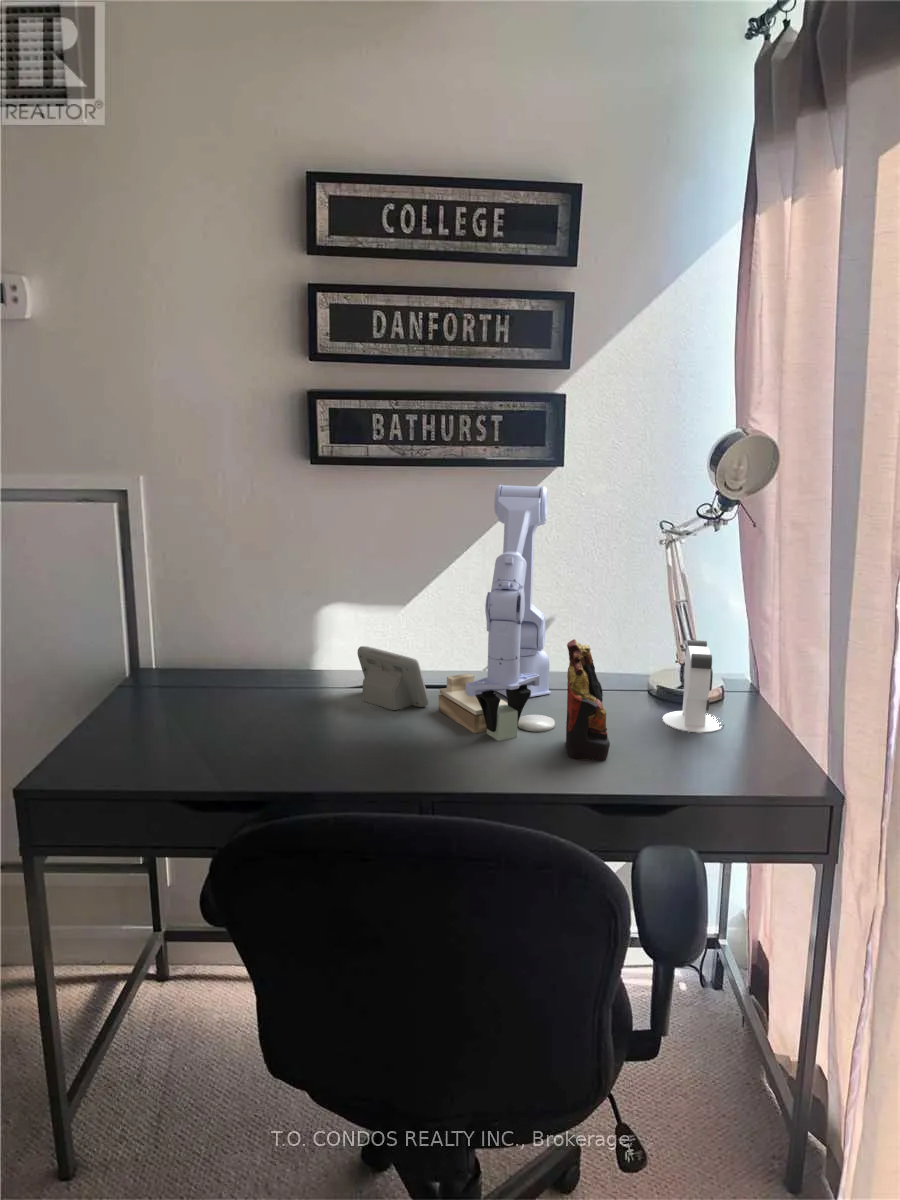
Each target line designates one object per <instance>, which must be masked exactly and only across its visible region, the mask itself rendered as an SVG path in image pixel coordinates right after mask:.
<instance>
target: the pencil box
mask: <svg viewBox="0 0 900 1200" xmlns="http://www.w3.org/2000/svg"><path fill="white" fill-rule="evenodd" d="M438 711H439V712H440V713H442V714H443V715H445V714H446V715H445V716H446V717H448V718H450V719H451V720H453V721H454V722H455V723H457V724H459V725H461V726H462V727H464V728H465V729H467V730H468V731H470V732H471V733H473V734H479V733H485V732H487V727H486V722H485V717H484V714H479V715H475V714H473V713H471V712H470V711H468V710H466V709H465V708H463V707H462V706H460V705H458V704H457V703H455V702H453V701H452V700H450V699H448V698H447V697H445V696H444V695H442V694H440V693H439V694H438Z"/></svg>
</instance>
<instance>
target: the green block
mask: <svg viewBox="0 0 900 1200" xmlns="http://www.w3.org/2000/svg"><path fill="white" fill-rule="evenodd" d="M517 719H518V711H517V710H515V709H513V708H512V707H510V706H508V705H506V704H505V705H499V706H498V711H497V725H496V731H495V732H491V731H490V730H488V729H487V731H486V735H488V736H490V737H491V738H492V739H494V740H495V741H498V742H499V741H504V740H510V739H515V738H518V725H517Z"/></svg>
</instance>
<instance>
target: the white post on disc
mask: <svg viewBox="0 0 900 1200" xmlns="http://www.w3.org/2000/svg"><path fill="white" fill-rule="evenodd" d="M685 651H686V652H685V659H684V673H683V674H684V676H683V677H684V678H683V679H684V680H683V684H684V685H683V698H682V699H683V700H682V709H681V710H675V711H670V712H667V713H665V714H664V715H663V716H662V719H663V720H662V723H663V722H664V723H665V724H664V723H663V724H664V725H665V726H667V725H668V726H667V727H669V726H670V727H669V728H671V727H672V728H671V729H673V728H674V730H676V729H678V730H677V731H679V730H682V731H681V732H684V731H688V732H687V733H690V732H698V733H697V734H704V733H703V732H712V731H716V730H719V729H721V727H722V726H720V727H719V724H721V722H720V723H719V722H718V720H717V719H718V718H719V717H718V718H717V719H716V717H717V716H716V715H713V716H714V717H713V716H712V717H711V715H712V714H709V713H707V711H709V709H710V699H709V694H710V692H711V691H712V688H713V677H714V675H713V671H714V670H713V654H711V651H710V648H709V647H708V642H707V640H696V639H695V640H694V639H688V640H687V645H686V650H685ZM706 714H707V715H706ZM708 714H709V715H708ZM715 716H716V717H715ZM713 718H714V719H713ZM716 720H717V721H716ZM717 722H718V723H717ZM699 732H700V733H699ZM701 732H702V733H701Z"/></svg>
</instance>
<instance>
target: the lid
mask: <svg viewBox="0 0 900 1200" xmlns="http://www.w3.org/2000/svg"><path fill="white" fill-rule="evenodd" d="M474 681H475V675H474V674H471V673H462V674H456V675H449V676H448V675H447V676H446V687H445V688H440V689H439V695H440V694H442V695H444V696H445V697H447V698H448V699H450V700H452V701H453V702H455V703H457V704H458V705H460V706H462V707H463V708H465V709H466V710H468V711H470V712H471V713H473V714H475V715H479V714H483V711H482V708H481V706H480V703H479V701H478V699H477V698H476V696H473V697H470V696H468V695H467V694H465V685H466V683H471V682H474ZM500 699H501V700H500V703H499V705H505V704H506V705H508V703H507V701H505V700H503V699H502V698H500Z"/></svg>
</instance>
